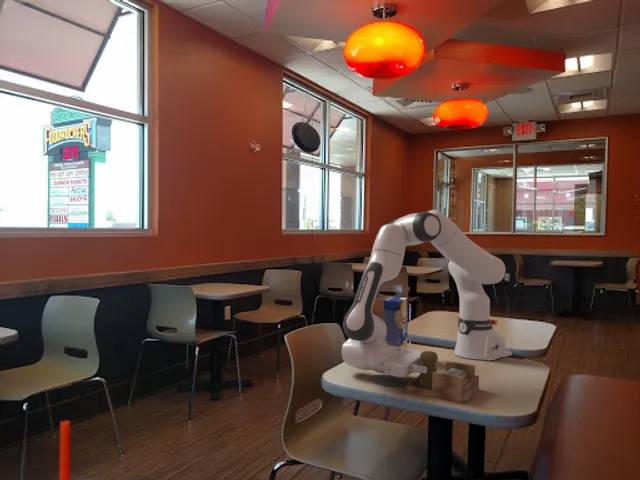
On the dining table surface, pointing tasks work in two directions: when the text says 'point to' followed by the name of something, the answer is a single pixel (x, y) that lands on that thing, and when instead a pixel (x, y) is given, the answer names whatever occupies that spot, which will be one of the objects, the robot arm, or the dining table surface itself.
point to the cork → (430, 361)
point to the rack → (449, 383)
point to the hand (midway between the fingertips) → (431, 366)
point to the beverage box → (396, 321)
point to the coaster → (387, 380)
